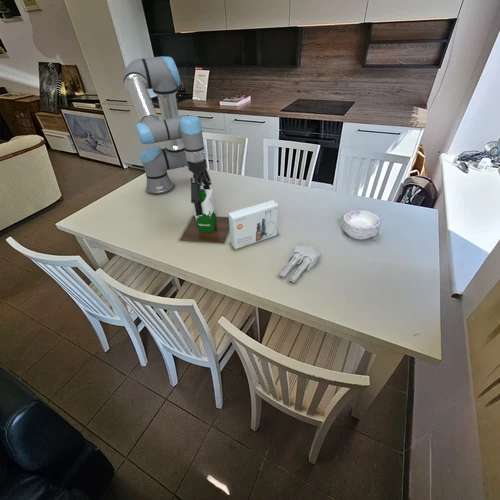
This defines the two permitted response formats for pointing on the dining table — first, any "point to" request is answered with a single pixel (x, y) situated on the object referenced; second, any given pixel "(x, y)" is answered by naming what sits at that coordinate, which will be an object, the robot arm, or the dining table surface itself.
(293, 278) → the turret
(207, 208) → the soya milk
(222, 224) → the walnut board
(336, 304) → the dining table surface
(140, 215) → the dining table surface
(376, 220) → the paper bowls
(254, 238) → the skincare box
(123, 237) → the dining table surface
